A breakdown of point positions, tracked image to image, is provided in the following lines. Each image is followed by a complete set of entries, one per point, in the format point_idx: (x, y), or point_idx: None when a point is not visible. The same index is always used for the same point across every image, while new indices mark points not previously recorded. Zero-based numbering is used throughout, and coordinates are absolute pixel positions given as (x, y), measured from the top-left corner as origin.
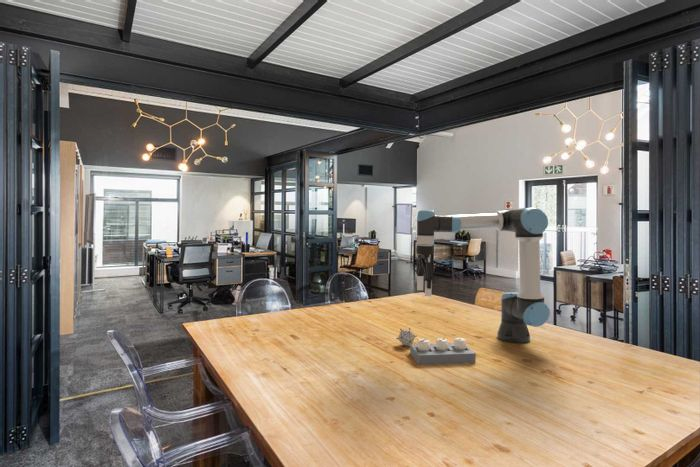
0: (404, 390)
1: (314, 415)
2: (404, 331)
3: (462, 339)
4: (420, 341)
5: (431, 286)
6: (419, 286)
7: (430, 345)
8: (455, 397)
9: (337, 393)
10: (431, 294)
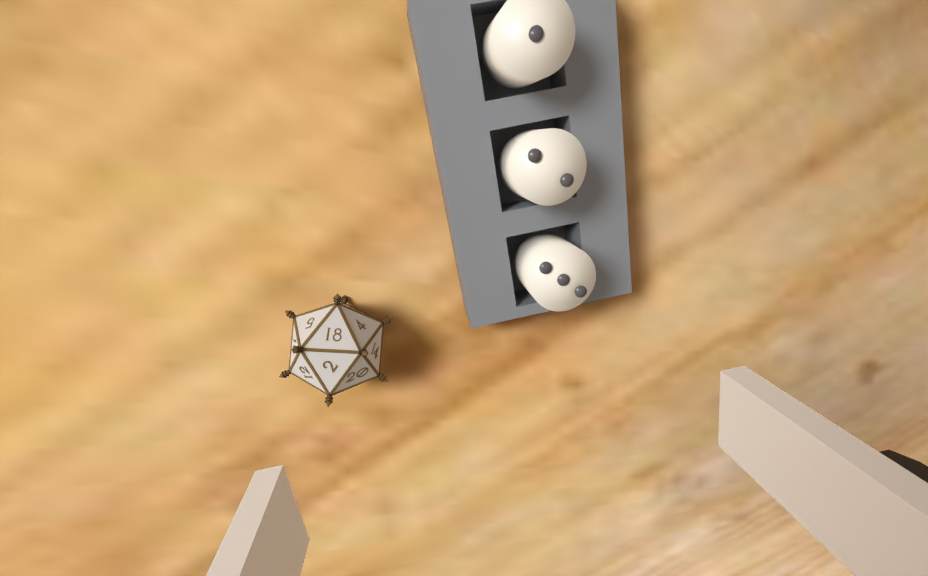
0: (827, 334)
1: None
2: (348, 375)
3: (535, 14)
4: (579, 297)
5: (887, 461)
6: (284, 571)
7: (479, 223)
8: (912, 171)
9: None
10: (762, 377)
